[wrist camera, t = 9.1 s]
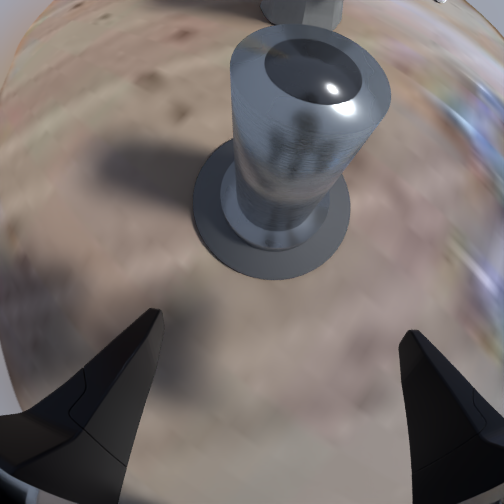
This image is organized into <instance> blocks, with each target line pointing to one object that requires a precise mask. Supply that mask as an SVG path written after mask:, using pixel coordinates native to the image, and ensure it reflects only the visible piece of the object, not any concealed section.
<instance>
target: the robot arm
mask: <svg viewBox="0 0 504 504" xmlns="http://www.w3.org/2000/svg"><path fill="white" fill-rule="evenodd" d="M163 334H164V320H163V314H162V311H161V310H160V309H155V308H149V309H148V310H147V311H146V312H145V313H143V314H142V315H141V316H140V317H139V318H138V319H136V320H135V321H134V322H133V323H132V324H131V325H130V326H129V327H127V328H126V329H125V330H124V331H123V332H122V333H121V334H119V335H118V336H117V337H116V338H115V339H114V340H113V341H112V342H110V343H109V344H108V345H107V346H106V347H105V348H104V349H103V350H102V351H100V352H99V353H98V354H97V355H96V356H95V357H94V358H93V359H92V360H90V361H89V362H88V363H87V364H86V365H85V366H84V368H81V369H80V370H79V371H78V372H77V373H76V374H75V375H74V376H73V377H71V378H70V379H69V380H68V381H67V382H66V383H64V384H63V385H62V386H60V387H59V388H58V389H56V390H55V391H54V392H52V393H51V394H50V395H48V396H47V397H46V398H44V399H43V400H41V401H40V402H39V403H37V404H36V405H35V406H33V407H32V408H30V409H28V410H26V411H24V412H22V413H18V414H11V415H3V416H0V504H118V501H119V497H120V492H121V488H122V484H123V480H124V477H125V473H126V469H127V465H128V461H129V457H130V454H131V450H132V447H133V443H134V440H135V436H136V433H137V429H138V426H139V422H140V419H141V416H142V412H143V409H144V406H145V403H146V399H147V396H148V393H149V390H150V387H151V384H152V381H153V378H154V374H155V371H156V367H157V363H158V358H159V353H160V348H161V343H162V338H163ZM399 359H400V371H401V383H402V390H403V396H404V403H405V410H406V417H407V425H408V434H409V443H410V455H411V469H412V495H413V504H504V418H503V417H502V416H501V415H500V414H499V413H498V412H497V411H496V410H495V409H494V408H493V407H492V406H491V405H490V404H489V403H488V402H487V401H486V400H485V399H484V398H483V397H482V396H481V395H480V394H479V393H478V392H477V390H476V389H475V388H474V387H473V386H472V385H471V384H470V383H469V382H468V381H467V380H466V379H465V377H464V376H463V375H462V374H461V373H460V372H459V371H458V370H457V369H456V368H455V367H454V366H453V365H452V364H451V363H450V362H449V361H448V360H447V358H446V357H445V356H444V355H443V354H442V353H441V352H440V351H439V350H438V349H437V348H436V347H435V346H434V345H433V344H432V343H431V342H430V341H429V340H428V339H427V338H426V337H425V336H424V335H423V334H422V333H421V332H420V331H419V330H408V331H407V333H406V334H405V336H404V337H403V339H402V340H401V342H400V344H399Z"/></svg>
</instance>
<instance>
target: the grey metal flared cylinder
mask: <svg viewBox="0 0 504 504" xmlns="http://www.w3.org/2000/svg"><path fill="white" fill-rule="evenodd" d="M230 77H231V100H232V121H233V141H234V161H233V163H232V164H231V165H230V166H229V168H228V169H227V171H226V173H225V175H224V177H223V180H222V184H221V190H220V199H221V205H222V210H223V214H224V217H225V220H226V222H227V224H228V226H229V227H230V229H231V230H232V232H233V233H234V234H235V235H236V236H237V237H238V238H239V239H240V240H242V241H243V242H244V243H246V244H247V245H249V246H251V247H253V248H256V249H259V250H263V251H268V252H282V251H287V250H291V249H294V248H296V247H298V246H300V245H302V244H303V243H305V242H306V241H307V240H308V239H310V238H311V237H312V236H313V235H314V234H315V233H316V232H317V231H318V230H319V229H320V227H321V226H322V224H323V223H324V221H325V219H326V217H327V214H328V210H329V204H330V194H329V189H330V188H331V187H332V186H333V184H334V183H335V182H336V180H337V179H338V178H339V176H340V175H341V174H342V172H343V171H344V170H345V168H346V167H347V166H348V164H349V163H350V162H351V160H352V159H353V158H354V156H355V155H356V154H357V152H358V151H359V150H360V148H361V147H362V146H363V144H364V143H365V142H366V140H367V139H368V138H369V136H370V135H371V134H372V132H373V131H374V130H375V128H376V127H377V126H378V124H379V123H380V122H381V120H382V119H383V117H384V116H385V114H386V113H387V111H388V109H389V106H390V101H391V89H390V85H389V82H388V79H387V77H386V75H385V73H384V71H383V69H382V68H381V66H380V65H379V64H378V62H377V61H376V60H375V59H374V58H373V57H372V56H371V55H370V54H369V53H368V52H367V51H366V50H365V49H363V48H362V47H361V46H359V45H358V44H357V43H355V42H353V41H352V40H350V39H348V38H346V37H345V36H343V35H340V34H338V33H336V32H333V31H330V30H327V29H324V28H320V27H316V26H311V25H303V24H281V25H275V26H270V27H266V28H263V29H260V30H258V31H256V32H254V33H252V34H250V35H248V36H247V37H246V38H244V39H243V40H242V41H241V42H240V43H239V44H238V45H237V47H236V48H235V50H234V52H233V54H232V57H231V61H230Z"/></svg>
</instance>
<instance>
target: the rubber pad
mask: <svg viewBox="0 0 504 504" xmlns="http://www.w3.org/2000/svg"><path fill="white" fill-rule="evenodd" d="M233 161H234V141H233V139H232V140H230V141H228V142H227V143H225V144H224V145H222V146H221V147H220V148H218V149H217V150H216V151H215V152H214V153H213V154H212V155H211V156H210V157H209V159H208V160H207V161H206V163H205V164H204V166H203V167H202V169H201V171H200V173H199V175H198V177H197V181H196V184H195V188H194V194H193V210H194V217H195V221H196V225H197V227H198V230H199V232H200V234H201V236H202V238H203V240H204V241H205V243H206V245H207V246H208V247H209V249H210V250H211V251H212V252H213V254H214V255H216V256H217V257H218V258H219V259H220V260H221V261H222V262H223V263H225V264H226V265H228V266H229V267H230V268H232V269H234V270H236V271H238V272H240V273H242V274H245V275H248V276H250V277H254V278H259V279H266V280H284V279H290V278H295V277H298V276H301V275H304V274H306V273H308V272H310V271H312V270H314V269H316V268H317V267H319V266H320V265H322V264H323V263H324V262H326V261H327V260H328V259H329V258H330V257H331V256H332V255H333V254H334V252H335V251H336V250H337V249H338V247H339V245H340V244H341V242H342V241H343V238H344V236H345V234H346V231H347V228H348V224H349V219H350V197H349V192H348V188H347V185H346V182H345V180H344V177H343V175H342V174H341V175H340V176H339V178H338V179H337V180H336V182H335V183H334V184H333V186H332V187H331V188H330V189H329V194H330V204H329V210H328V214H327V217H326V219H325V221H324V223H323V224H322V226H321V227H320V229H319V230H318V231H317V232H316V233H315V234H314V235H313V236H312V237H311V238H310V239H308V240H307V241H306V242H305V243H303V244H302V245H300V246H298V247H296V248H294V249H291V250H287V251H282V252H268V251H263V250H259V249H256V248H253V247H251V246H249V245H247V244H246V243H244V242H243V241H242V240H240V239H239V238H238V237H237V236H236V235H235V234H234V233H233V232H232V230H231V229H230V227H229V226H228V224H227V222H226V220H225V217H224V214H223V210H222V205H221V199H220V190H221V184H222V180H223V177H224V175H225V173H226V171H227V169H228V168H229V166H230V165H231V164H232V163H233Z"/></svg>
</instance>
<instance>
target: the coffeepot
mask: <svg viewBox="0 0 504 504" xmlns="http://www.w3.org/2000/svg"><path fill="white" fill-rule="evenodd" d="M260 8H261V10H262V11H263V13H264V16H265V17H266V18H267V19H268V20H269V21H270V22H271V23H273V24H275V25H281V24H303V25H311V26H316V27H320V28H324V29H327V30H330V31H333V30H334V29H335V28H336V27H337V25H338V24H339V23H340V21H341V19H342V8H343V0H262V1H261V5H260Z"/></svg>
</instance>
